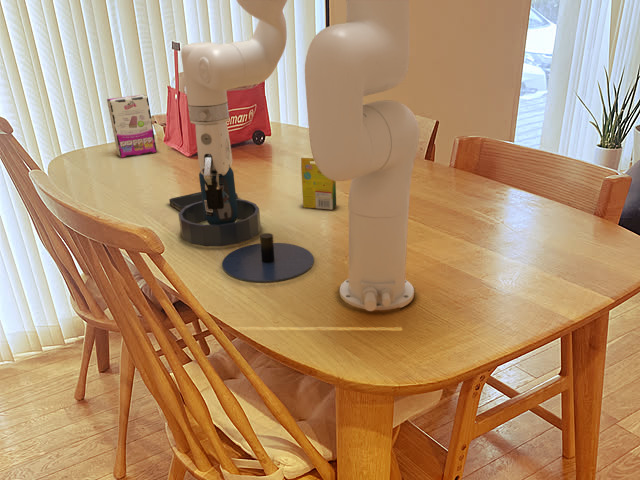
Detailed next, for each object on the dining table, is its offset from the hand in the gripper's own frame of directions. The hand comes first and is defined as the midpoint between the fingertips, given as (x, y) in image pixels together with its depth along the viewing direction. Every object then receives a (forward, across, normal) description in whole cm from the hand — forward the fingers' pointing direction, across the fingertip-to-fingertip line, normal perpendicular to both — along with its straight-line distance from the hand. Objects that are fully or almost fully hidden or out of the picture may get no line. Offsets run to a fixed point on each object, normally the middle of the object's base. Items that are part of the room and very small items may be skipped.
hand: (219, 201), depth 129 cm
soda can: (+5, 0, 0) cm, 5 cm away
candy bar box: (+6, +64, +38) cm, 75 cm away
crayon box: (+7, +16, -20) cm, 27 cm away
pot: (+7, 0, 0) cm, 7 cm away
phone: (+7, +20, +8) cm, 23 cm away
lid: (+7, -16, -12) cm, 21 cm away
